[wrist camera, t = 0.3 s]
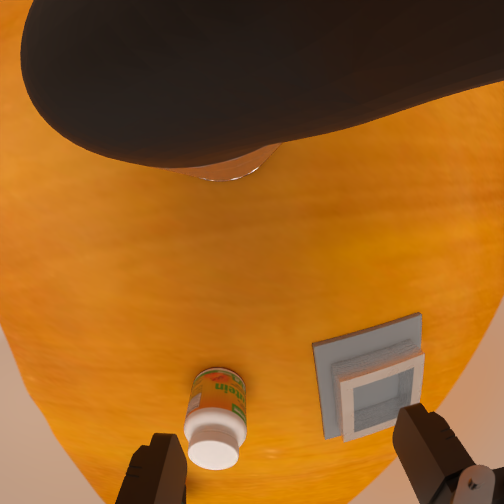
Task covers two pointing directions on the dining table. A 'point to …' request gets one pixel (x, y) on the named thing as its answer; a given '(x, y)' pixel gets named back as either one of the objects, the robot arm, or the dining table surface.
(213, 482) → the dining table surface
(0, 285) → the dining table surface
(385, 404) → the socket board
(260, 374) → the dining table surface
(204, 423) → the supplement bottle
